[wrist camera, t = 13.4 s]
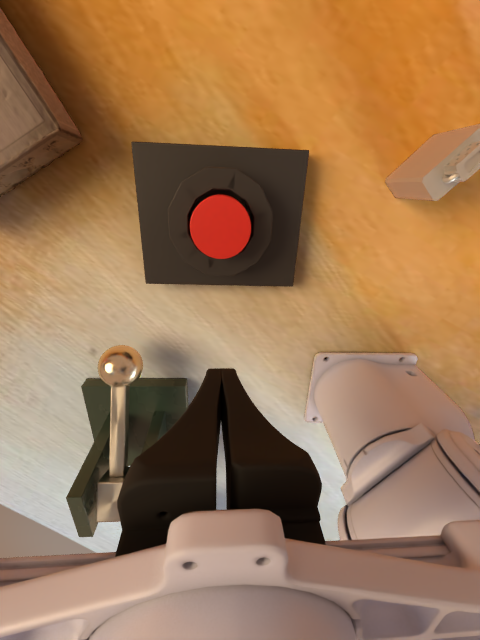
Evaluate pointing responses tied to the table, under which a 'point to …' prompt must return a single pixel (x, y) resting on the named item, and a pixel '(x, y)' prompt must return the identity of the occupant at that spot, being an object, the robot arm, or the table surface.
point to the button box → (211, 179)
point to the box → (28, 114)
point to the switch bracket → (144, 430)
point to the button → (220, 226)
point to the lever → (117, 424)
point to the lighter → (438, 165)
